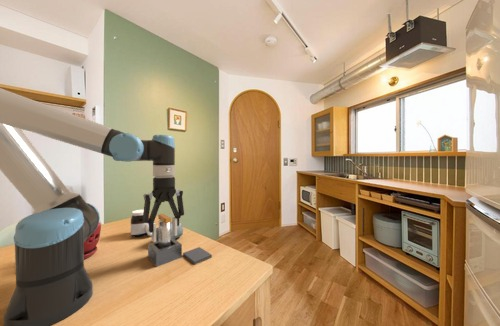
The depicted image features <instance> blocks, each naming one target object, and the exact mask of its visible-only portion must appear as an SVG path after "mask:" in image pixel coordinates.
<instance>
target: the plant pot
mask: <svg viewBox="0 0 500 326" xmlns="http://www.w3.org/2000/svg"><path fill="white" fill-rule="evenodd" d="M101 228H102V223H101V222H100V221H99V223H98V226H97V228H96V230H95V231H94V232H93V233H92V234H91V235H90V236H89V237H88V239H87V240H86V241H85V242H84V260H85V259H87V258H89V257H91V256H93V255H95V254H96V252H97V251H98V247H97V244H98V243H99V240H100V236H101V232H102V231H101Z"/></svg>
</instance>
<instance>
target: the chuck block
mask: <svg viewBox="0 0 500 326" xmlns="http://www.w3.org/2000/svg"><path fill="white" fill-rule="evenodd" d="M147 249H148V250H147V258H148V259H149V260H150V261H151V262H152V263H153V265H154V266H155V267H156V268H157V267H160V266H162V265H166V264H167V263H171V262H173V261H176V260H179V259H181V258H183V251H182V250H183V247H182V243H181V242H179V241H178V240H176V239H174V238H172V237H171V246H169V247H166V248H162V249H159V241H157V242H150V243H147Z"/></svg>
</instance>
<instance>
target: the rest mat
mask: <svg viewBox="0 0 500 326" xmlns="http://www.w3.org/2000/svg"><path fill="white" fill-rule="evenodd" d="M182 257H184V258H186V259H187V260H188V261H189V262H190V263H192V264H193V265H197V264H199V263H202V262H205V261H206V260H210V259H211V258H212V257H213V255H212V254H211V253H210V252H208V251H206V250H205V249H204V248H202V247H200V246H198V247H196V248H193V249H191V250H187V251H185V252H182Z"/></svg>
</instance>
